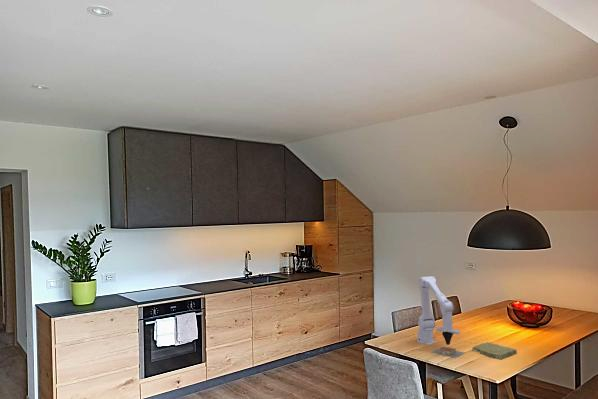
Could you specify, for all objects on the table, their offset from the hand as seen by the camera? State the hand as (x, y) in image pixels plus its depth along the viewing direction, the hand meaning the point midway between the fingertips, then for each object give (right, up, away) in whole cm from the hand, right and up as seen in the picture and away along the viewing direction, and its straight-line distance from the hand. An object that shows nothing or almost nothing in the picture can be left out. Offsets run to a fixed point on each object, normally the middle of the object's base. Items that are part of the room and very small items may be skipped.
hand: (448, 344), depth 274 cm
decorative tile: (+28, -6, 0) cm, 28 cm away
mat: (0, -6, +1) cm, 6 cm away
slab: (-3, -5, +3) cm, 7 cm away
